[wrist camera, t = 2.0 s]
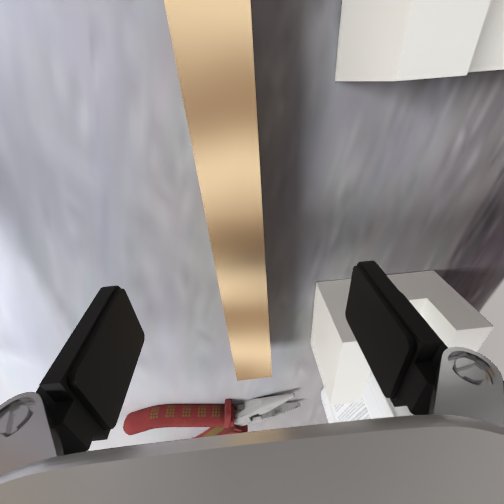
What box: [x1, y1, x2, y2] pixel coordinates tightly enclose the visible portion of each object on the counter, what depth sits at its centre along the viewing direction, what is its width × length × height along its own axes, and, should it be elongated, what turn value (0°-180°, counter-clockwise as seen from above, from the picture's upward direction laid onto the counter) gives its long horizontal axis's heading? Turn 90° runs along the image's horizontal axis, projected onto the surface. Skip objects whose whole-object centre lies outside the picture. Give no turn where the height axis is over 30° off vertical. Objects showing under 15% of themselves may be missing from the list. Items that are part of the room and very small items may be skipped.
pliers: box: [123, 393, 300, 438], centre depth 32 cm, size 12×20×3 cm, turn 110°
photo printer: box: [321, 371, 412, 423], centre depth 24 cm, size 10×4×12 cm, turn 162°
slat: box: [164, 0, 272, 381], centre depth 16 cm, size 28×3×4 cm, turn 4°
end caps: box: [311, 0, 504, 405], centre depth 15 cm, size 30×10×6 cm, turn 4°
